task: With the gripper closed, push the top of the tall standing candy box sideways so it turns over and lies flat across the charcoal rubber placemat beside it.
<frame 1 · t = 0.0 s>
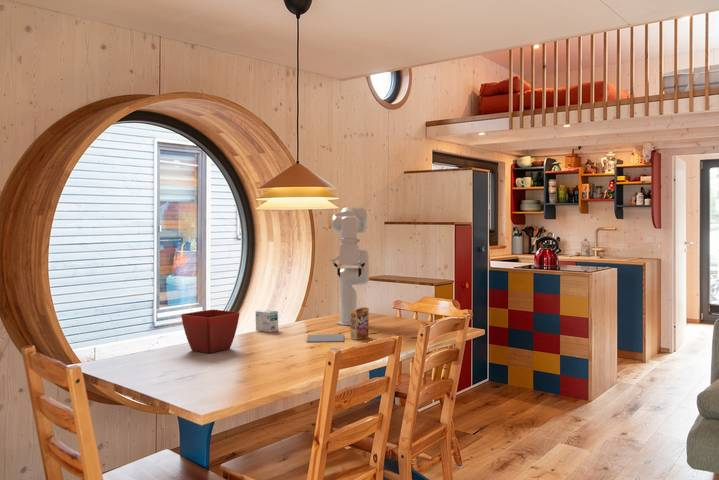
hand: (349, 276, 290), 31 cm above the table, fingers open, 9 cm apart
plant pot: (211, 350, 271), on the table
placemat: (325, 338, 293), on the table
light bulb box: (267, 331, 316), on the table
candy box: (359, 338, 294), on the table
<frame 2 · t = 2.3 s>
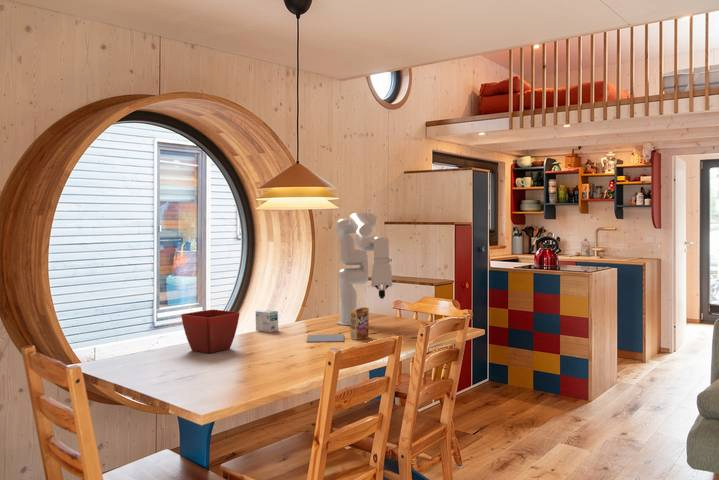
hand: (381, 298, 293), 20 cm above the table, fingers closed
nothing on the table moved.
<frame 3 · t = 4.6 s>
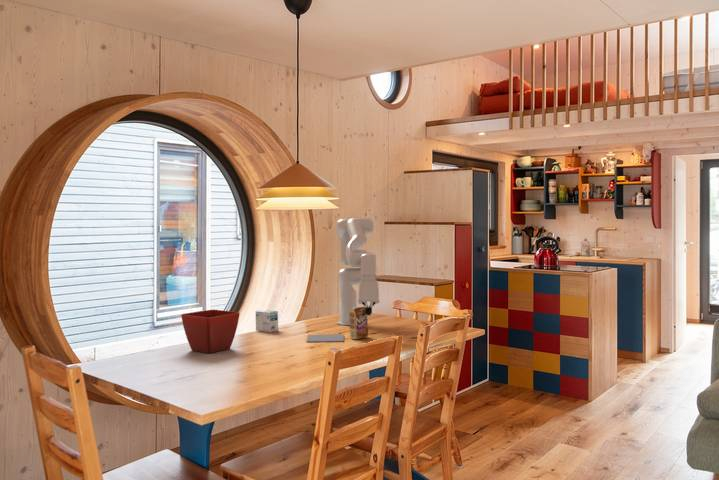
hand: (368, 315, 294), 12 cm above the table, fingers closed
candy box: (359, 338, 294), on the table, touching gripper
everything else where it was.
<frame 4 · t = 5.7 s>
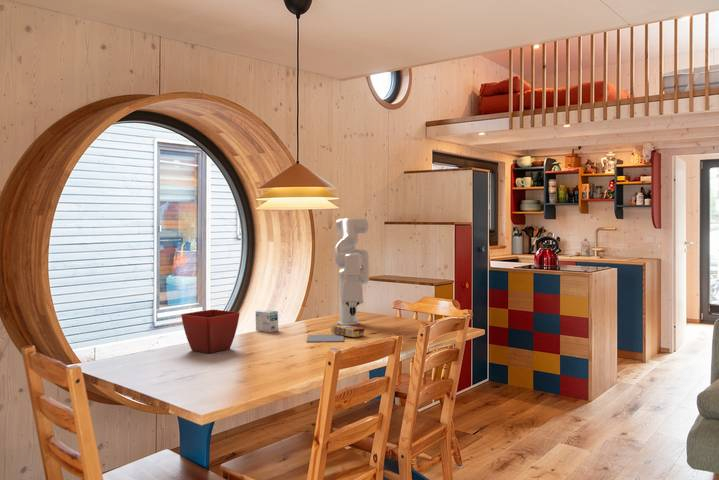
hand: (352, 315, 293), 12 cm above the table, fingers closed
candy box: (359, 332, 297), point 2 cm above the table, touching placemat
everything else where it was.
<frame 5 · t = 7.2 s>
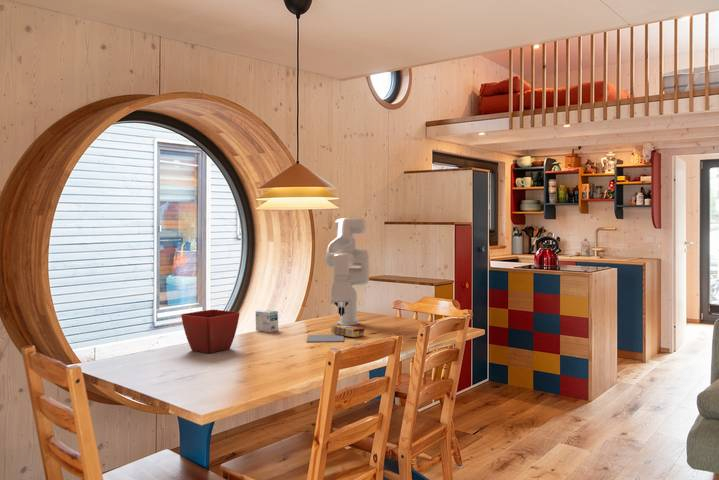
hand: (341, 315, 293), 12 cm above the table, fingers closed
nothing on the table moved.
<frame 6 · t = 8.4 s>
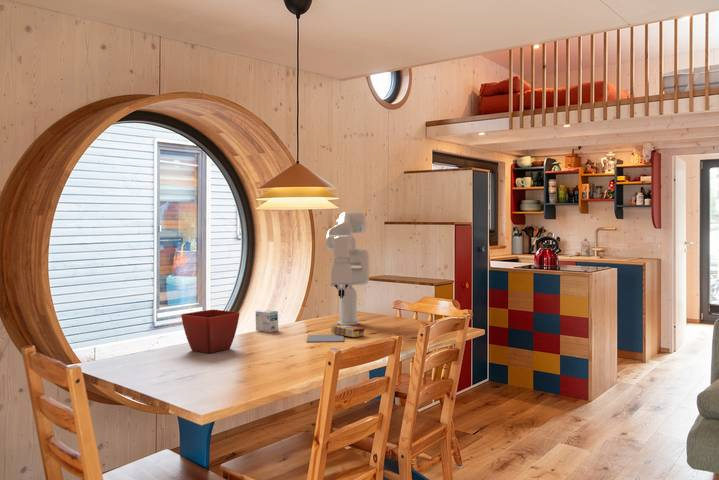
hand: (341, 297, 293), 20 cm above the table, fingers closed
nothing on the table moved.
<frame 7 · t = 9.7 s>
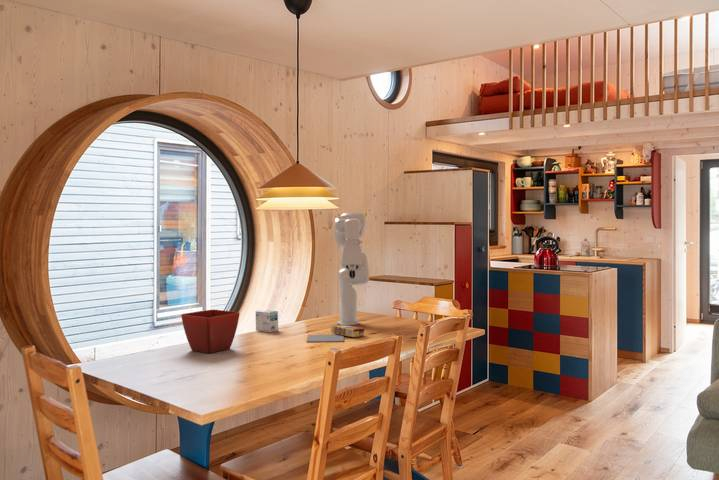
hand: (352, 278, 306), 29 cm above the table, fingers closed
nothing on the table moved.
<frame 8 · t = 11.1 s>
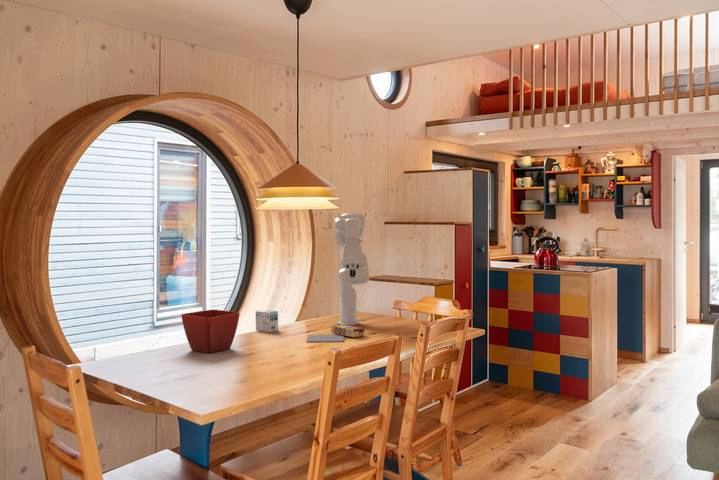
hand: (352, 277, 307), 29 cm above the table, fingers closed
nothing on the table moved.
at the end: candy box tilted 91°; candy box touching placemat, table; the gripper is holding nothing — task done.
